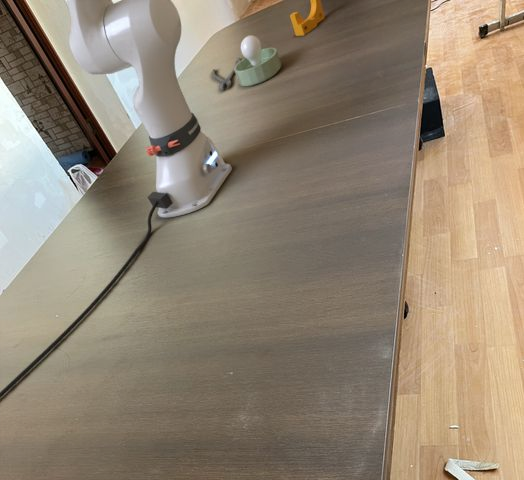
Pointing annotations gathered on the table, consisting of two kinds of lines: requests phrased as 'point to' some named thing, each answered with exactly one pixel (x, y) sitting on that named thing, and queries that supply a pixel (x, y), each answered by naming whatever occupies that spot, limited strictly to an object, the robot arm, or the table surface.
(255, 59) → the lightbulb
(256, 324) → the table surface
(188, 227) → the table surface
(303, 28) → the pipe clamp
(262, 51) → the bowl
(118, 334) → the table surface
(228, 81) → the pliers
